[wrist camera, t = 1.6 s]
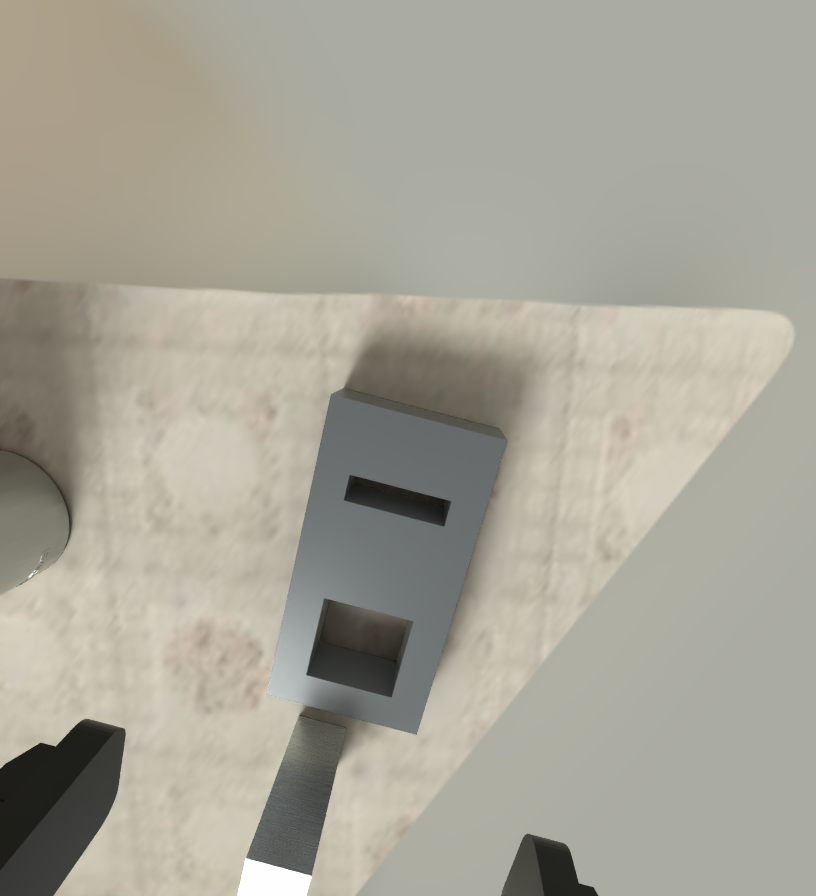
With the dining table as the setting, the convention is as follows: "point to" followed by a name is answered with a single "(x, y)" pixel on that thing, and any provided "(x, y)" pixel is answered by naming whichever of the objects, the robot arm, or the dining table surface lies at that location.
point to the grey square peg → (294, 813)
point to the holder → (383, 553)
